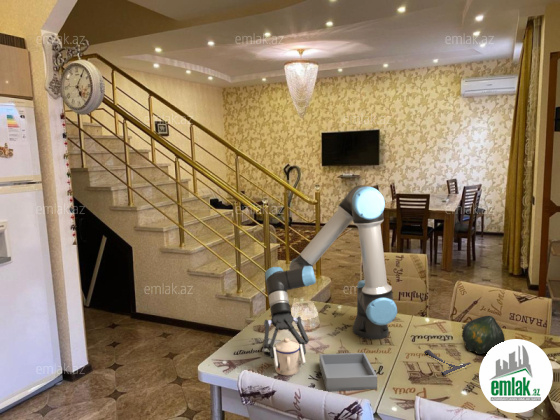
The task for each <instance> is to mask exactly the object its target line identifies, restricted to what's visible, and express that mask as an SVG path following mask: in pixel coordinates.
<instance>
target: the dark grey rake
mask: <svg viewBox="0 0 560 420" xmlns="http://www.w3.org/2000/svg"><path fill="white" fill-rule="evenodd" d="M424 353H425V354H426V353H427V354H428V355H429V356H431V357H433V358H435V359H437V360H439V361H441V362H443V360H444V359H442V358H440V357H439V356H437V355H436V354H434V352H432V351H431V350H430V349H426V350H424V352H423V354H424ZM445 361H446V360H444V362H443V363H445ZM446 364H448V363H446ZM462 364H463V365H460V366H455V365H452V364H448V365H449V366H451V367H453V368H452V369H451V368H448V369H449V370H446V371H444V372H442V371H441V372H440V374H441V373H443V374H442V375H443V376H444V375H446V374H448V373H450V372H452V371H455V370H457V369H460V368H462V367H465V366H466V365H469V364H472V363H471V362H466V363H462Z"/></svg>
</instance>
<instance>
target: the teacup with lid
mask: <svg viewBox="0 0 560 420" xmlns="http://www.w3.org/2000/svg"><path fill="white" fill-rule="evenodd" d="M299 345H300V344H299V343H298V342H297V341H294V340H291V338H289V337H285V338H284V339H283V341H282V340H281V341H279V342H277V343H274V347H275V348H276V355H277V361H278V368H276V369H275V368H274V369H275V371H276V373H278V374H279V375H282V376H293V375H296V374H297V373H298V372H299V371H300V352H299V349H300V346H299Z"/></svg>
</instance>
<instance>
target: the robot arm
mask: <svg viewBox="0 0 560 420" xmlns="http://www.w3.org/2000/svg"><path fill="white" fill-rule="evenodd" d="M385 203H386V201H385V197H384V196H383V194H382V193H381V192H380V191H379V190H378V189H377V188H374V187H372V186H368V185H361V184H360V185H356V186H354V187H353V188H352V189H350V191H348V193H346V195H345V196H344V198H343V200H342V201H341V202H340V203H339V204H338V205H337V210H336V212H334V213H333V215H332V216H331V217H330V218H329V220H328V221H327V222H326V223H325V225H323V226H322V227H321V229H320V230H319V231H318V232H317V234H316V235H315V236H314V237H313V238H312V239H311V240H310V241H309V243H307V245H306V246H305V248H304V249H303V250H302V251H301V252H300V253H299V255H298V256H297V257H296V258H293V259H292V260H291V261H290V263H289V270H284V269H283V268H282V267H280V266H273V267H269V268H268V269H267V270H266V271H265V273H264V275H265V284H266V290H267V291H266V292H267V296H268V303H269V304H268V305H269V307H270V308H269V309H270V316H271V319H269V320H268V319H265V320H264V322H263V327H264V337H263V339H264V340H263V346H264V348H265V349H266V348H267V349H266V350H268V352H270V357H269V358H270V359H273V363H274V364H273V365H274V369H276V368H278V361H277V355H276V348H275V343H274V342H275V340H277V335H278V332H279V331H283V330H284V331H287V330H288V332H290V334H291V335H292V336H293V338H294V339H295V340H296V342H297V343H298V344H299V346H300V349H299V358H300V362H301V366H304V365H305V364H306V357H305V355H307V354H306V353H307V350H306V349H307V348H306V345H307V344H308V343H309V341H310V339H309V337H308V334H307V332H306V330H305V328H304V326H303V324H302V323H303V322H302V317H301V316H297V317H294V316H293V314H292V309H291V306H290V300H289V294H288V291H289V290H294V289H299V288H305V287H309V286H312V285H315V284H316V283H317V282H316V281H317V280H316V275H315V272H314V268H313V267H314V266H315V265H316V263H317V262H318V261H320V259H321V258H322V256H323V255H324V254H325V253H326V252H327V251H328V249H330V247H331V246H332V245H333V243H334V242H335V241H336V240H337V239H338V238H339V237H340V236H341V234H342V233H343V232H344V231H345V230H346V229H347V227H348V226H350V225H351V223H352V222H353V225H355V226H356V227H357V230H358V238H359V240H358V241H359V246H360V254H361V262H362V270H363V278H364V279H362V280H358V282H357V286H356V289H357V292H356V293H357V294H356V299H357V301H356V306H357V307H356V312H357V313H356V317H355V319H354V321H353V324H352V333H353V334H355V335H356V336H357V337H359V338H362V339H366V340H381V339H384V338H386V337H388V336H387V335H389V326H388V325H389V324H390V323H392V322H393V321H394V320H395V319H396V317H397V315H398V307H397V304H396V302H395V301H394V295H393V287H392V286H391V285H390V284H389V283H388V280H387V271H386V270H387V269H386V261H385V253H384V245H383V244H384V243H383V237H382V228H381V227H382V226H381V224H382V223H383V222H384V220H385V218H384V210H385V206H386V205H385ZM293 322H294V323H295V324H296V326H297V329H298V330H299V331H297V330H296V328H295V327H294V325H293ZM271 325H272V326H273V327H274V332H273V334H272V340H271V343H268V338H269V335H270V327H271ZM299 333H300V334H299Z"/></svg>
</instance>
